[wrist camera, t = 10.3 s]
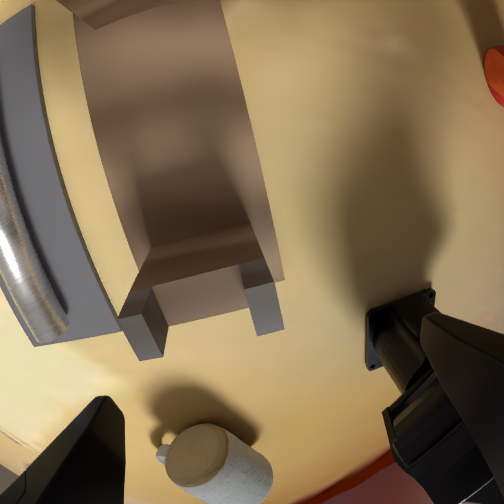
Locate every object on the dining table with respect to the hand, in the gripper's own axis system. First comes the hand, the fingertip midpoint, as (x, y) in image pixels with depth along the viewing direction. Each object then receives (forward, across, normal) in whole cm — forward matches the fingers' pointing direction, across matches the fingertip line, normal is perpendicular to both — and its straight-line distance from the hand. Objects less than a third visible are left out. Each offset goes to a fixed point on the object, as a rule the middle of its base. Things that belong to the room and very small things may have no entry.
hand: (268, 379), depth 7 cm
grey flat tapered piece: (+11, +14, -8) cm, 20 cm away
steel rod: (+11, +14, -8) cm, 19 cm away
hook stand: (+12, +2, -8) cm, 14 cm away
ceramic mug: (+12, +9, +20) cm, 25 cm away
